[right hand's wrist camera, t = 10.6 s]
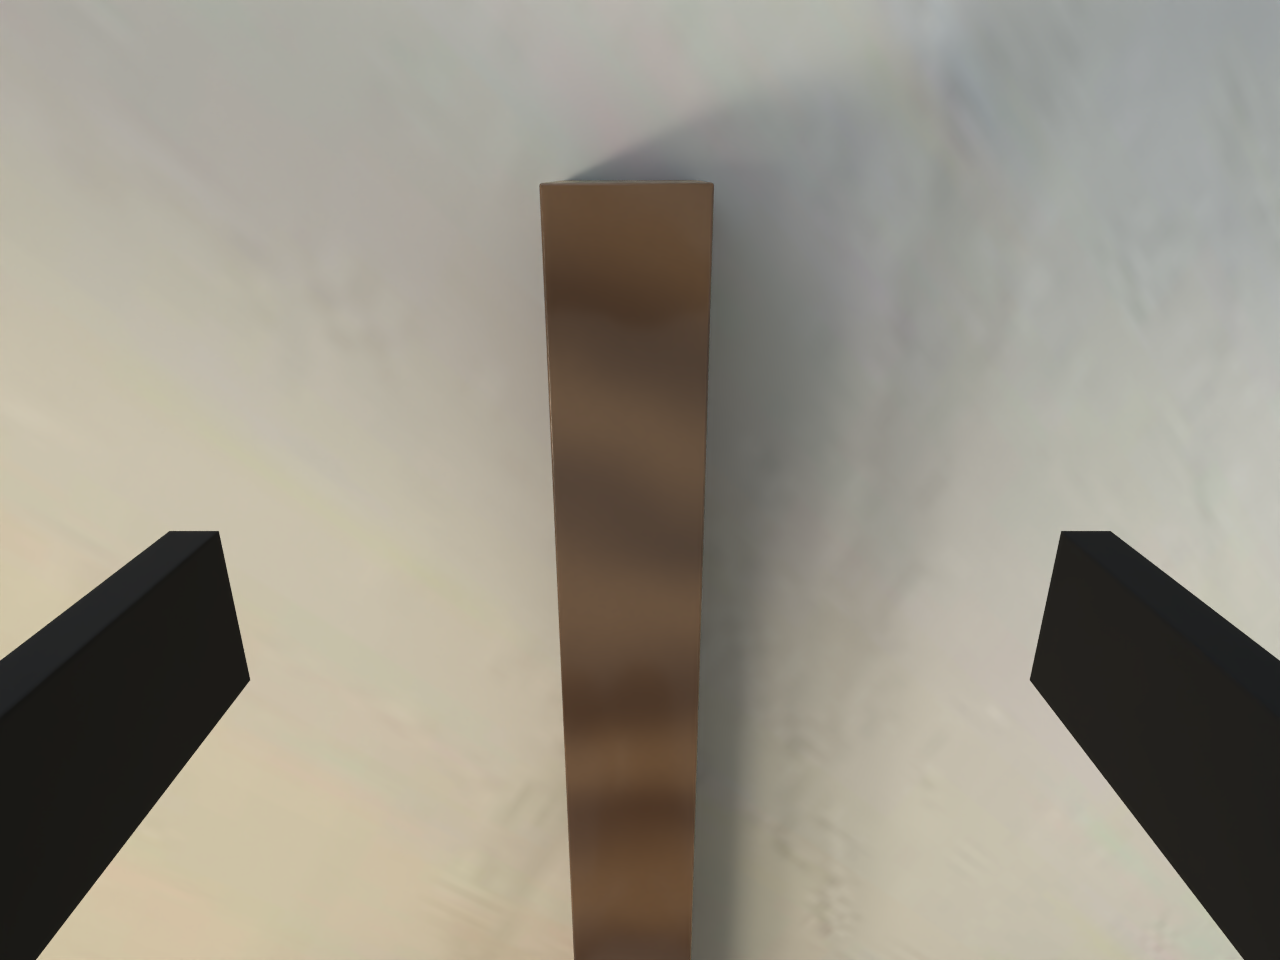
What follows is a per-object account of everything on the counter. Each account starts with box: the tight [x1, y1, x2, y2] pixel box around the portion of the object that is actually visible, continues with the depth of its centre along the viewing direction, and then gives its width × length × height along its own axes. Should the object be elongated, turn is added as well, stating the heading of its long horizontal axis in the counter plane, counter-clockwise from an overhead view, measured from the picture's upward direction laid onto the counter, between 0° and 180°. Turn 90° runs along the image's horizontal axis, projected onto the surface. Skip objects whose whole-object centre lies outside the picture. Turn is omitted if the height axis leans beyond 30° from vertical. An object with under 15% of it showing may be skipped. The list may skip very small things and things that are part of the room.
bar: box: [540, 180, 714, 960], centre depth 37 cm, size 61×5×7 cm, turn 0°
